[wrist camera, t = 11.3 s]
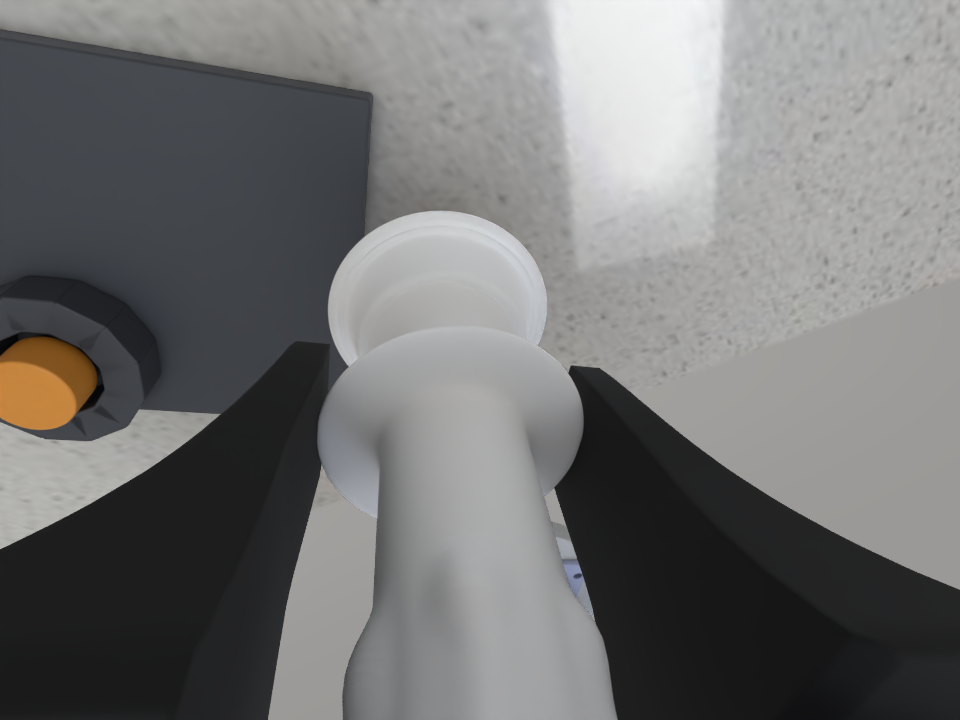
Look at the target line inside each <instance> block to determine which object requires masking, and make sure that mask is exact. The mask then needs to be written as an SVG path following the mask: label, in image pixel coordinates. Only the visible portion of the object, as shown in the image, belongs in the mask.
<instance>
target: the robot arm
mask: <svg viewBox="0 0 960 720" xmlns="http://www.w3.org/2000/svg"><path fill="white" fill-rule="evenodd" d="M329 358H330V344H325V343H314V342H303V341H295V342H294V343H293V344H291V345H290V346H289V347H288V348H287V349H286V350H285V352H284V353H283V354H282V355H281V356H280V357H279V358H278V360H277V361H276V362H275V363H274V364H273V365H272V366H271V367H270V368H269V369H268V370H267V371H266V372H265V373H264V374H263V375H262V376H261V378H260V379H259V380H258V381H256V382H255V383H254V384H253V385H252V386H251V387H250V388H249V389H248V390H247V391H246V392H245V393H244V394H243V395H242V396H241V397H240V398H239V399H238V400H237V401H236V402H235V403H233V404H232V405H231V406H230V407H229V408H228V409H227V410H225V411H224V412H223V413H222V414H221V415H219V416H218V417H217V418H216V419H215V420H214V421H212V422H211V423H210V424H209V425H208V426H206V427H205V428H204V429H203V430H202V431H200V432H199V433H198V434H197V435H195V436H194V437H193V438H191V439H190V440H189V441H188V442H186V443H185V444H184V445H182V446H181V447H180V448H178V449H177V450H175V451H174V452H173V453H171V454H170V455H168V456H167V457H165V458H164V459H163V460H161V461H160V462H158V463H157V464H155V465H154V466H153V467H151V468H150V469H148V470H146V471H145V472H143V473H142V474H140V475H138V476H137V477H135V478H133V479H132V480H130V481H128V482H127V483H125V484H123V485H121V486H120V487H118V488H116V489H115V490H113V491H111V492H110V493H108V494H106V495H105V496H103V497H101V498H100V499H98V500H96V501H94V502H93V503H91V504H89V505H87V506H86V507H84V508H82V509H80V510H78V511H76V512H74V513H72V514H71V515H69V516H67V517H65V518H63V519H61V520H59V521H57V522H55V523H53V524H51V525H49V526H48V527H45V528H43V529H41V530H39V531H37V532H35V533H33V534H31V535H29V536H27V537H25V538H23V539H21V540H19V541H17V542H15V543H13V544H11V545H9V546H6V547H4V548H2V549H0V720H268V714H269V708H270V702H271V696H272V689H273V683H274V676H275V670H276V665H277V658H278V652H279V646H280V640H281V634H282V628H283V622H284V616H285V610H286V605H287V600H288V595H289V591H290V587H291V582H292V578H293V574H294V571H295V566H296V563H297V559H298V555H299V552H300V548H301V544H302V541H303V537H304V533H305V529H306V526H307V522H308V518H309V515H310V511H311V507H312V503H313V499H314V496H315V492H316V488H317V484H318V480H319V477H320V470H321V464H322V463H321V460H320V457H319V453H318V448H317V431H318V419H319V414H320V411H321V408H322V405H323V403H324V401H325V398H326V396H327V395H328V380H329ZM568 374H569V376H570V377H571V379H572V380H573V382H574V384H575V386H576V388H577V390H578V393H579V396H580V399H581V403H582V407H583V415H584V428H583V435H582V439H581V442H580V445H579V448H578V451H577V454H576V456H575V459H574V461H573V463H572V465H571V467H570V468H569V470H568V471H567V473H566V474H565V476H564V477H563V478H562V479H561V481H560V482H559V483H558V484H557V485H556V486H555V487H554V488H555V491H556V495H557V498H558V501H559V504H560V507H561V510H562V513H563V516H564V520H565V523H566V526H567V529H568V532H569V535H570V538H571V541H572V544H573V547H574V550H575V553H576V556H577V559H578V560H562V562H563V566H564V569H565V573H566V576H567V580H568V583H569V586H570V588H571V590H572V591H573V593H574V595H575V596H576V597H577V594H578V592H579V590H580V587H581V585H582V583H583V580H585V583H586V587H587V590H588V594H589V597H590V601H591V605H592V608H593V613H594V617H595V622H596V625H597V627H598V630H599V632H600V634H601V636H602V638H603V641H604V645H605V649H606V654H607V658H608V663H609V671H610V678H611V685H612V692H613V699H614V704H615V709H616V715H617V719H618V720H960V590H959V589H956V588H954V587H951V586H949V585H947V584H944V583H942V582H939V581H937V580H934V579H932V578H930V577H927V576H925V575H922V574H920V573H917V572H915V571H913V570H910V569H908V568H906V567H904V566H901V565H899V564H897V563H895V562H893V561H891V560H889V559H887V558H884V557H882V556H881V555H878V554H876V553H874V552H872V551H870V550H868V549H866V548H863V547H861V546H859V545H857V544H855V543H853V542H851V541H850V540H847V539H845V538H843V537H841V536H839V535H838V534H836V533H834V532H831V531H830V530H828V529H826V528H824V527H823V526H821V525H819V524H817V523H815V522H814V521H812V520H810V519H808V518H806V517H804V516H803V515H801V514H799V513H797V512H795V511H794V510H792V509H790V508H788V507H787V506H785V505H783V504H782V503H780V502H778V501H777V500H775V499H773V498H772V497H770V496H768V495H767V494H765V493H764V492H762V491H761V490H759V489H758V488H756V487H754V486H753V485H751V484H749V483H748V482H746V481H745V480H743V479H742V478H740V477H739V476H737V475H736V474H734V473H733V472H731V471H730V470H729V469H727V468H726V467H724V466H723V465H721V464H720V463H718V462H717V461H716V460H715V459H713V458H712V457H710V456H709V455H707V454H706V453H705V452H704V451H702V450H701V449H700V448H698V447H697V446H696V445H694V444H693V443H692V442H690V441H689V440H688V439H687V438H685V437H684V436H683V435H681V434H680V433H679V432H678V431H676V430H675V429H674V428H673V427H671V426H670V425H669V424H668V423H667V422H665V421H664V420H663V419H662V418H661V417H659V416H658V415H657V414H656V413H654V412H653V411H652V410H651V409H650V408H649V407H647V406H646V405H645V404H643V403H642V402H641V401H640V400H639V399H638V398H637V397H635V396H634V395H633V394H632V393H631V392H629V391H628V390H627V389H626V388H625V387H623V386H622V385H621V384H620V383H619V382H617V381H616V380H615V379H614V378H612V377H611V376H610V375H608V374H607V373H606V372H604V371H603V370H601V369H600V368H592V367H581V366H571V367H570V370H569V373H568Z"/></svg>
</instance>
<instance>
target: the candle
mask: <svg viewBox="0 0 960 720" xmlns="http://www.w3.org/2000/svg"><path fill="white" fill-rule="evenodd" d="M546 317H547V295H546V289H545V285H544V281H543V278H542V275H541V273H540V270H539V268H538V266H537V264H536V263H535V261H534V259H533V258H532V256H531V255H530V253H529V252H528V251H527V250H526V248H525V247H524V246H523V245H522V244H521V243H520V242H519V241H518V240H517V239H516V238H515V237H514V236H512V235H511V234H510V233H508V232H507V231H506V230H504V229H503V228H501V227H499V226H498V225H496V224H494V223H492V222H490V221H487V220H485V219H483V218H480V217H477V216H474V215H470V214H466V213H461V212H454V211H426V212H419V213H414V214H410V215H406V216H403V217H400V218H397V219H394V220H392V221H390V222H387V223H385V224H383V225H381V226H380V227H378V228H376V229H375V230H373V231H372V232H370V233H369V234H368V235H366V236H365V237H364V238H363V239H361V240H360V241H359V242H358V243H357V244H356V245H355V246H354V247H353V248H352V249H351V251H350V252H349V253H348V254H347V256H346V257H345V258H344V260H343V261H342V263H341V265H340V266H339V268H338V270H337V272H336V274H335V277H334V279H333V282H332V286H331V289H330V294H329V301H328V320H329V326H330V331H331V334H332V338H333V340H334V343H335V345H336V347H337V350H338V351H339V353H340V355H341V357H342V358H343V360H344V361H345V362H346V364H347V365H348V366H349V367H348V368H347V369H346V370H345V371H344V372H343V373H342V375H341V376H340V377H339V378H338V379H337V381H336V382H335V383H334V385H333V386H332V388H331V389H330V391H329V393H328V395H327V396H326V398H325V401H324V403H323V405H322V408H321V411H320V414H319V419H318V431H317V448H318V453H319V457H320V460H321V463H322V466H323V468H324V470H325V472H326V474H327V476H328V478H329V479H330V481H331V482H332V484H333V485H334V486H335V488H336V489H337V490H338V491H339V492H340V493H341V494H342V495H343V496H344V497H345V498H346V499H347V500H348V501H349V502H350V503H352V504H353V505H354V506H356V507H357V508H359V509H360V510H362V511H363V512H365V513H367V514H369V515H370V516H372V517H374V518H377V533H376V554H375V575H374V596H373V609H372V612H371V615H370V618H369V620H368V622H367V624H366V626H365V628H364V630H363V632H362V634H361V636H360V638H359V640H358V641H357V644H356V645H355V648H354V650H353V653H352V655H351V657H350V660H349V663H348V667H347V670H346V674H345V679H344V687H343V720H618V719H617V715H616V709H615V704H614V699H613V692H612V685H611V678H610V671H609V663H608V658H607V654H606V649H605V645H604V641H603V638H602V636H601V634H600V632H599V630H598V627H597V625H596V623H595V621H594V620H593V619H592V617H591V616H590V615H589V613H588V612H587V611H586V609H585V608H584V607H583V606H582V604H581V603H580V602H579V601H578V599H577V598H576V596H575V595H574V593H573V591H572V590H571V588H570V586H569V583H568V580H567V576H566V573H565V569H564V566H563V562H562V559H561V555H560V552H559V548H558V545H557V541H556V538H555V534H554V531H553V527H552V524H551V520H550V517H549V513H548V509H547V506H546V502H545V499H544V496H546V495H547V494H548V493H549V492H550V491H551V490H552V489H553V488H554V487H555V486H556V485H557V484H558V483H559V482H560V481H561V479H562V478H563V477H564V476H565V474H566V473H567V471H568V470H569V468H570V467H571V465H572V463H573V461H574V459H575V456H576V454H577V451H578V448H579V445H580V442H581V439H582V435H583V428H584V415H583V407H582V403H581V399H580V396H579V393H578V390H577V388H576V386H575V384H574V382H573V380H572V379H571V377H570V376H569V374H568V373H567V372H566V370H565V369H564V368H563V367H562V366H561V364H560V363H559V362H558V361H557V360H556V359H554V358H553V357H552V356H551V355H550V354H549V353H547V352H546V351H545V350H543V349H542V348H540V347H539V346H538V344H539V342H540V339H541V337H542V334H543V331H544V327H545V323H546Z"/></svg>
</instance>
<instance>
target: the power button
mask: <svg viewBox="0 0 960 720" xmlns="http://www.w3.org/2000/svg"><path fill="white" fill-rule="evenodd" d="M96 385H97V372H96V369H95V367H94V365H93V363H92V362H91V360H90V359H89V358H88V357H87V356H86V355H85V354H84V353H83V352H82V351H80V350H79V349H78V348H76V347H75V346H73V345H71V344H69V343H67V342H64V341H62V340H59V339H55V338H51V337H40V336H38V337H29V338H25V339H22V340H20V341H18V342H16V343H14V344H13V345H12V346H11V347H10V348H9V349H7V350H6V351H5V352H4V353H3V354H2V355H1V356H0V418H2V419H3V420H5V421H7V422H9V423H11V424H14V425H17V426H19V427H23V428H27V429H34V430H48V429H54V428H57V427H60V426H62V425H65V424H66V423H68V422H69V421H70V420H71V419H72V418H73V417H74V416H75V415H76V413H77V412H78V411H79V409H80V408H81V407H82V406H83V404H84V403H85V402H86V400H87V399H88V398H89V397H90V395H91V394H92V393H93V391H94V390H95V388H96Z"/></svg>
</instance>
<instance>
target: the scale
mask: <svg viewBox="0 0 960 720" xmlns="http://www.w3.org/2000/svg"><path fill="white" fill-rule="evenodd" d="M372 103H373V95H372V94H371V93H369V92H363V91H357V90H352V89H346V88H340V87H334V86H328V85H322V84H316V83H311V82H305V81H299V80H293V79H287V78H281V77H275V76H270V75H264V74H258V73H252V72H246V71H240V70H235V69H229V68H223V67H217V66H211V65H205V64H199V63H194V62H188V61H182V60H176V59H170V58H164V57H158V56H153V55H147V54H141V53H135V52H129V51H123V50H117V49H112V48H106V47H100V46H94V45H88V44H82V43H76V42H71V41H65V40H59V39H53V38H47V37H41V36H35V35H30V34H24V33H18V32H12V31H6V30H0V356H1V355H2V354H3V353H4V352H5V351H6V350H7V349H9V348H10V347H11V346H12V345H13V344H14V343H16V342H18V341H20V340H22V339H25V338H29V337H38V336H40V337H51V338H55V339H59V340H62V341H64V342H67V343H69V344H71V345H73V346H75V347H76V348H78V349H79V350H80V351H82V352H83V353H84V354H85V355H86V356H87V357H88V358H89V359H90V360H91V362H92V363H93V365H94V367H95V369H96V372H97V385H96V388H95V390H94V391H93V393H92V394H91V395H90V397H89V398H88V399H87V400H86V402H85V403H84V404H83V406H82V407H81V408H80V409H79V411H78V412H77V413H76V415H75V416H74V417H73V418H72V419H71V420H70V421H69V422H68V423H66V424H65V425H62V426H60V427H57V428H54V429H48V430H34V429H27V428H23V427H19V426H17V425H14V424H11V423H9V422H7V421H5V420H3V419H2V418H0V422H1V423H4V424H7V425H9V426H12V427H14V428H17V429H19V430H22V431H24V432H27V433H30V434H32V435H35V436H37V437H40V438H44V439H54V440H75V441H92V440H95V439H98V438H100V437H103V436H105V435H108V434H111V433H113V432H116V431H118V430H121V429H124V428H126V427H127V426H128V425H129V424H130V422H131V421H132V419H133V418H134V416H135V415H136V413H137V411H138V410H139V409H145V410H162V411H179V412H196V413H212V414H222V413H223V412H224V411H225V410H227V409H228V408H229V407H230V406H231V405H232V404H233V403H235V402H236V401H237V400H238V399H239V398H240V397H241V396H242V395H243V394H244V393H245V392H246V391H247V390H248V389H249V388H250V387H251V386H252V385H253V384H254V383H255V382H256V381H258V380H259V379H260V378H261V376H262V375H263V374H264V373H265V372H266V371H267V370H268V369H269V368H270V367H271V366H272V365H273V364H274V363H275V362H276V361H277V360H278V358H279V357H280V356H281V355H282V354H283V353H284V352H285V350H286V349H287V348H288V347H289V346H290V345H291V344H293V343H294V342H295V341H303V342H314V343H325V344H330V358H329V380H328V393H329V391H330V389H331V388H332V386H333V385H334V383H335V382H336V381H337V379H338V378H339V377H340V376H341V375H342V373H343V372H344V371H345V370H346V369H347V368H348V367H349V366H348V365H347V364H346V362H345V361H344V360H343V358H342V357H341V355H340V353H339V351H338V350H337V347H336V345H335V343H334V340H333V338H332V334H331V331H330V326H329V320H328V301H329V294H330V289H331V286H332V282H333V279H334V277H335V274H336V272H337V270H338V268H339V266H340V265H341V263H342V261H343V260H344V258H345V257H346V256H347V254H348V253H349V252H350V251H351V249H352V248H353V247H354V246H355V245H356V244H357V243H358V242H359V241H360V240H361V239H363V238H364V224H365V209H366V194H367V178H368V163H369V148H370V133H371V118H372Z"/></svg>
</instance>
